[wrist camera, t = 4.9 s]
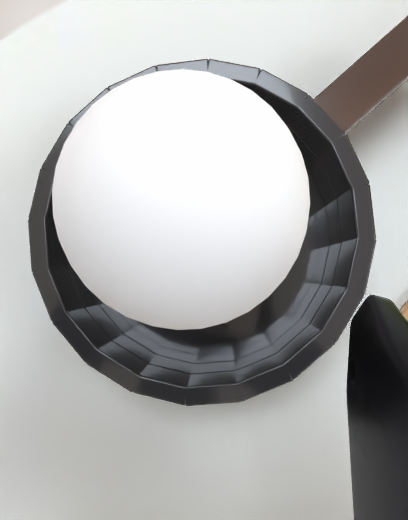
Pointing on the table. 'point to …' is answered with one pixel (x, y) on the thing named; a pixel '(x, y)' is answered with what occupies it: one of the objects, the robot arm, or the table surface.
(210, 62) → the pan
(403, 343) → the robot arm
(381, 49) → the pan handle
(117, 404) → the table surface
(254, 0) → the table surface
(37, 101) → the table surface
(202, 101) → the lightbulb
